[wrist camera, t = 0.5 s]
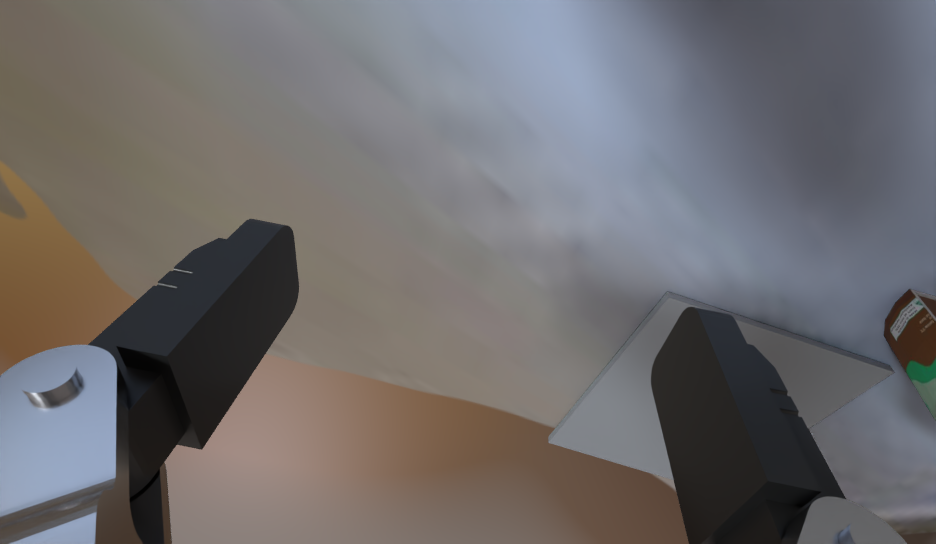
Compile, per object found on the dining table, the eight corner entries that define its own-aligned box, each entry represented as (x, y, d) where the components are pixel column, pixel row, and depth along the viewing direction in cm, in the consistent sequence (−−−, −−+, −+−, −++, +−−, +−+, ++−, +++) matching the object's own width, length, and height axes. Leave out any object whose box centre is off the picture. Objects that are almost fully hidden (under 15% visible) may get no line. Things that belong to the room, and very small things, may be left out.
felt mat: (667, 291, 31) (669, 297, 30) (889, 365, 32) (894, 372, 31) (548, 436, 43) (548, 442, 43) (710, 485, 45) (712, 491, 44)
